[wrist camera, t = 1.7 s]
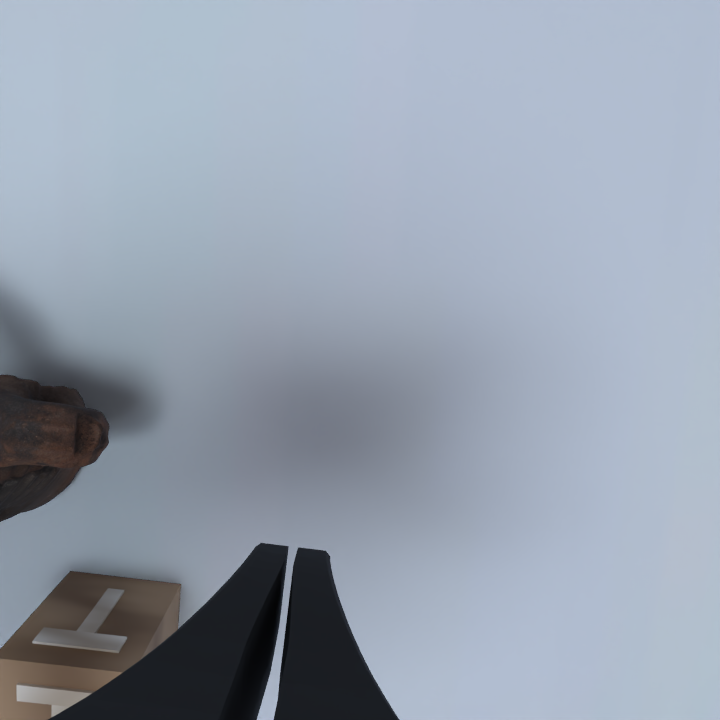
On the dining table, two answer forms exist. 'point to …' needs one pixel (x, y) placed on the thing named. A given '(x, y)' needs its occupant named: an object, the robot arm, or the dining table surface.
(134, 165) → the dining table surface
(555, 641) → the dining table surface
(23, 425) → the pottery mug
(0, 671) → the letter cube
